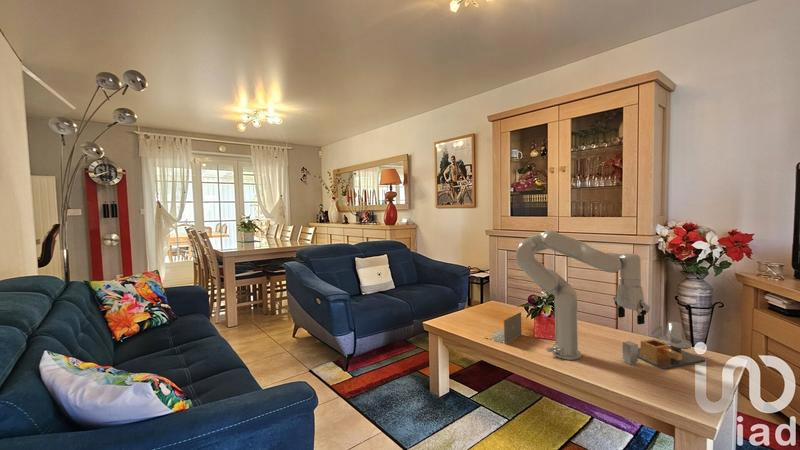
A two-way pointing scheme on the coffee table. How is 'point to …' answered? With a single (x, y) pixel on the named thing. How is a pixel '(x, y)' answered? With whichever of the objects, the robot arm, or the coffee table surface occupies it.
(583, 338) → the coffee table surface
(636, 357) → the grey block
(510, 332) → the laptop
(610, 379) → the coffee table surface
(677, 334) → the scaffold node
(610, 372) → the coffee table surface
